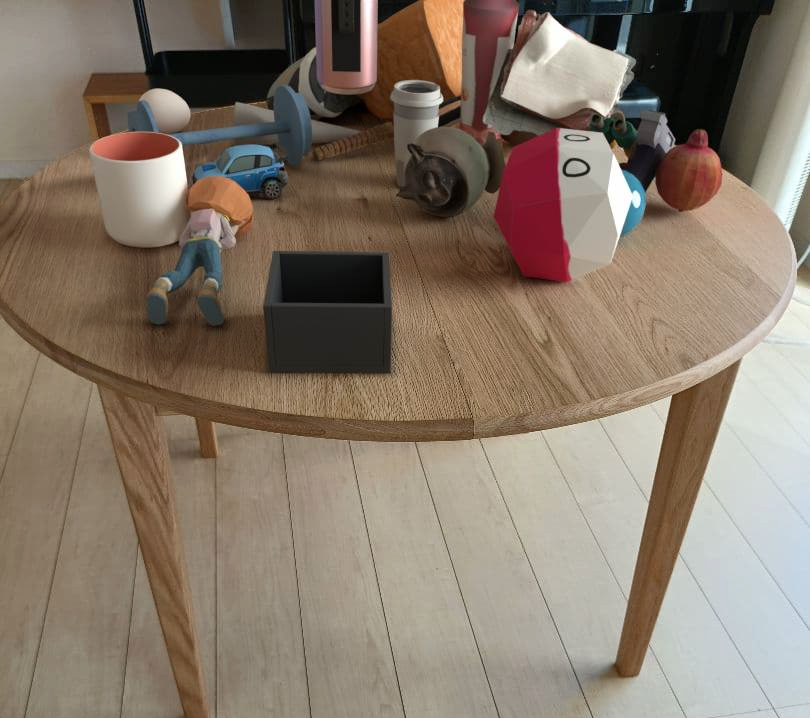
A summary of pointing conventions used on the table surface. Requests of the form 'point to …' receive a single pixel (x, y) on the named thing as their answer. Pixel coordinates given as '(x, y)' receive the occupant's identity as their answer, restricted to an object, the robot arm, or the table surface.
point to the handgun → (650, 147)
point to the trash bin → (328, 312)
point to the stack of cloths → (555, 80)
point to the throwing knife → (380, 134)
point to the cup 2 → (413, 116)
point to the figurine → (205, 245)
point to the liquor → (483, 58)
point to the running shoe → (312, 89)
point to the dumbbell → (288, 125)
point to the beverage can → (368, 74)
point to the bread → (418, 52)
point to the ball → (634, 204)
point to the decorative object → (562, 204)
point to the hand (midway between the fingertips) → (346, 60)
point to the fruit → (689, 174)
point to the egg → (167, 110)
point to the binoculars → (616, 133)
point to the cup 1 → (141, 187)
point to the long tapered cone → (256, 115)
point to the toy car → (250, 168)
